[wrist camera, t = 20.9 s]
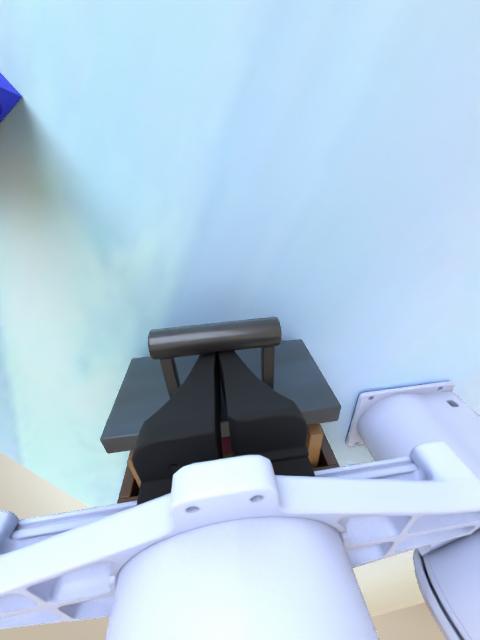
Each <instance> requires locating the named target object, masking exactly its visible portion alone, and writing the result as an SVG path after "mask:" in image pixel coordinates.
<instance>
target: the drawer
mask: <svg viewBox="0 0 480 640" xmlns="http://www.w3.org/2000/svg"><path fill="white" fill-rule="evenodd" d="M148 347H149V352H150V355H151V357H142V358H133V359H132V360H131V362H130V365H129V368H128V370H127V373H126V375H125V378H124V380H123V383H122V385H121V388H120V390H119V393H118V395H117V398H116V400H115V403H114V405H113V408H112V410H111V413H110V415H109V418H108V421H107V423H106V426H105V428H104V431H103V433H102V436H101V438H100V441H101V442H102V444H103V446H104V448H105V450H106V452H107V453H115V452H122V451H129V450H131V451H130V454H129V458H128V462H127V464H128V466H129V468H130V470H131V472H132V474H133V476H134V478H135V480H136V482H137V484H138V486H139V488H140V485H141V481H140V479H139V477H138V475H137V473H136V471H135V469H134V466H133V464H132V456H133V451H134V447H135V443H136V440H137V437H138V434H139V432H140V429H141V427H142V425H143V422H144V421H146V420H147V419H148V418H150V417H151V416H152V415H153V414H154V413H156V412H157V411H158V410H159V409H160V408H161V407H162V406H163V405H164V404H165V403H166V402H167V401H168V400H169V399H170V398H171V397H172V396H173V395H174V394H175V392H176V391H177V390H178V389H179V387H180V386H181V385H182V384H183V382H184V381H185V379H186V378H187V376H188V375H189V373H190V371H191V370H192V368H193V366H194V364H195V362H196V360H197V358H198V356H199V355H200V354H209V353H218V352H227V351H235V352H236V353H237V354H238V356H239V357H240V359H241V360H242V361H243V362H244V364H245V365H246V366H247V367H248V368H249V369H250V370H251V371H252V372H253V373H254V374H255V375H256V376H257V377H258V378H259V379H260V380H261V381H262V382H264V383H265V384H266V385H268V386H269V387H270V388H272V389H273V390H274V391H276V392H278V393H279V394H281V395H283V396H285V397H287V398H288V399H290V400H292V401H294V402H295V403H296V405H297V406H298V408H299V409H300V411H301V413H302V414H303V416H304V418H305V420H306V423H307V425H308V433H307V440H306V447H307V449H308V452H309V456H308V457H309V460H310V463H311V465H312V468H317V464H318V459H319V454H320V449H321V444H322V439H323V432H322V430H321V427H320V425H319V423H324V422H331V421H337V420H338V418H339V414H340V409H341V405H340V403H339V402H338V400H337V398H336V397H335V395H334V393H333V392H332V390H331V388H330V386H329V385H328V383H327V381H326V380H325V378H324V376H323V375H322V373H321V371H320V370H319V368H318V366H317V365H316V363H315V361H314V360H313V358H312V356H311V355H310V353H309V351H308V349H307V348H306V346H305V344H304V343H303V341H302V340H292V341H284V342H281V327H280V323H279V320H278V318H277V317H269V318H260V319H250V320H240V321H231V322H221V323H212V324H202V325H193V326H183V327H173V328H164V329H154V330H151V331H150V332H149V336H148ZM220 424H221V437H227V436H230V432H229V422H228V415H227V410H226V405H225V400H224V395H223V390H222V385H221V393H220Z"/></svg>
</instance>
